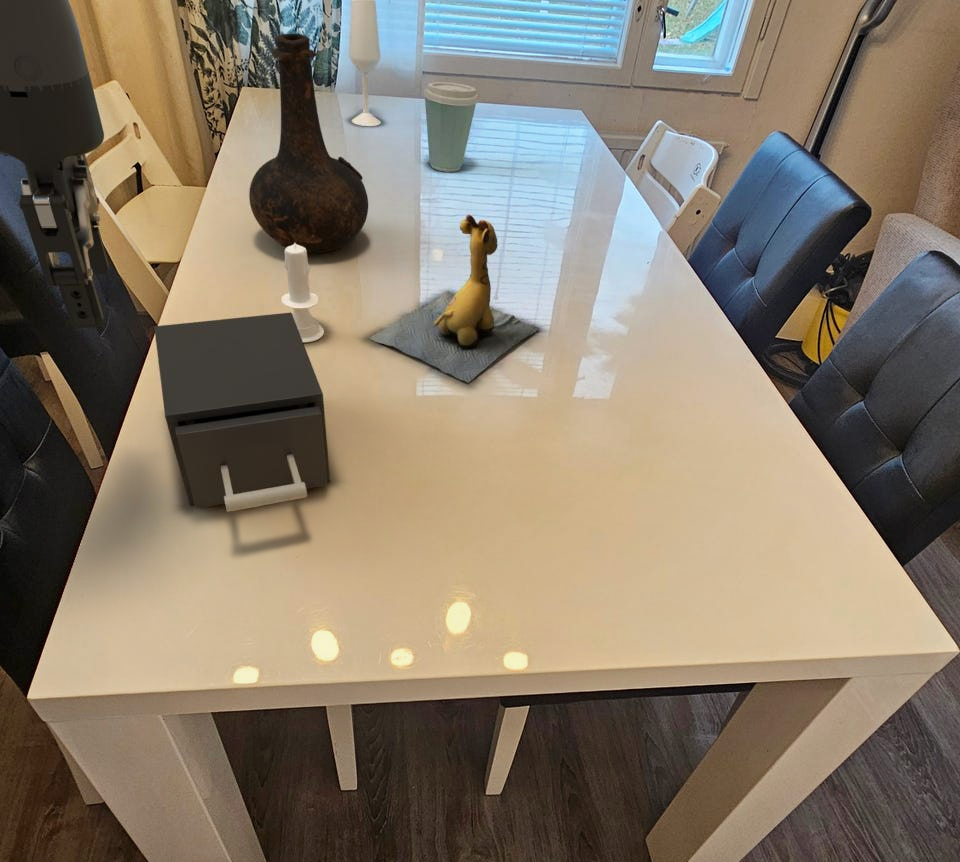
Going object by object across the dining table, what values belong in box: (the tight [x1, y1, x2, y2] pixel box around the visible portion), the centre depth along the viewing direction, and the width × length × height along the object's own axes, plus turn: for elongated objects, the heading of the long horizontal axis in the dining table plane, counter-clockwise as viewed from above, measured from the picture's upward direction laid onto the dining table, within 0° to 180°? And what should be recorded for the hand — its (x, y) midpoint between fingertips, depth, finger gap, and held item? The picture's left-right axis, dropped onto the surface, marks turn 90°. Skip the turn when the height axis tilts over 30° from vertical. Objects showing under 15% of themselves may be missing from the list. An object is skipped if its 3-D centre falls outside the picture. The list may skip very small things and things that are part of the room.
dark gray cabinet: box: [153, 311, 331, 506], centre depth 72 cm, size 16×14×11 cm
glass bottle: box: [248, 32, 369, 254], centre depth 104 cm, size 18×18×28 cm
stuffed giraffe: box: [369, 214, 541, 384], centre depth 91 cm, size 16×18×16 cm
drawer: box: [175, 404, 328, 513], centre depth 69 cm, size 20×13×9 cm, turn 21°
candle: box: [280, 243, 325, 344], centre depth 89 cm, size 5×5×12 cm
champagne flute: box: [348, 0, 382, 127], centre depth 154 cm, size 7×7×24 cm
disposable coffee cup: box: [423, 81, 479, 173], centre depth 140 cm, size 11×11×15 cm
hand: (92, 297), depth 56 cm, fingers open, 8 cm apart
